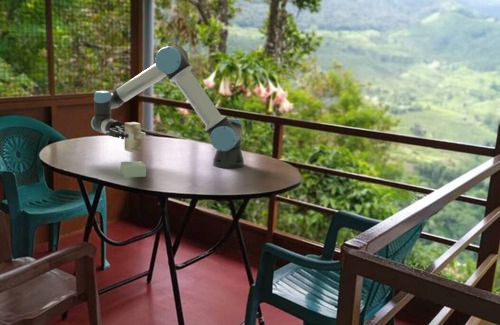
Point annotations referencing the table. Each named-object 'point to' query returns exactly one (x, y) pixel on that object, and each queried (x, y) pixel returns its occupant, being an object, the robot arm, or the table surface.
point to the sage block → (133, 169)
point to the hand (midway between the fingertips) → (138, 136)
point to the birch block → (136, 143)
